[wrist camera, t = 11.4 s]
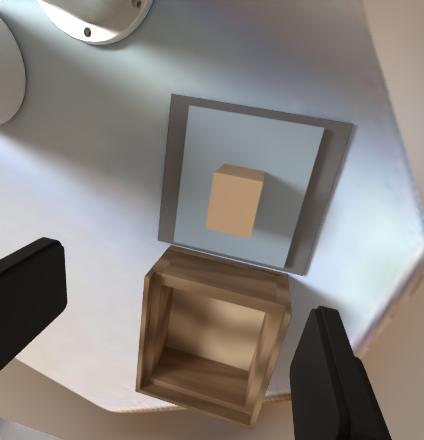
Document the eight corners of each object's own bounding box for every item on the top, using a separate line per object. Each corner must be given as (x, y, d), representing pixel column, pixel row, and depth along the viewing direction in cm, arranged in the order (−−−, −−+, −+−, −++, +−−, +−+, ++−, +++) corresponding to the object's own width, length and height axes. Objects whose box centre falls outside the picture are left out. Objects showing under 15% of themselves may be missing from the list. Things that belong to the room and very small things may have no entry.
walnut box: (170, 245, 33) (144, 276, 26) (287, 274, 31) (291, 315, 24) (159, 345, 38) (135, 391, 32) (256, 374, 37) (253, 430, 30)
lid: (192, 105, 26) (170, 101, 21) (322, 127, 25) (337, 129, 19) (176, 238, 32) (156, 262, 26) (283, 263, 30) (285, 295, 24)
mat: (173, 94, 27) (171, 93, 26) (351, 123, 25) (352, 123, 24) (159, 238, 33) (157, 240, 32) (301, 273, 30) (302, 275, 30)
